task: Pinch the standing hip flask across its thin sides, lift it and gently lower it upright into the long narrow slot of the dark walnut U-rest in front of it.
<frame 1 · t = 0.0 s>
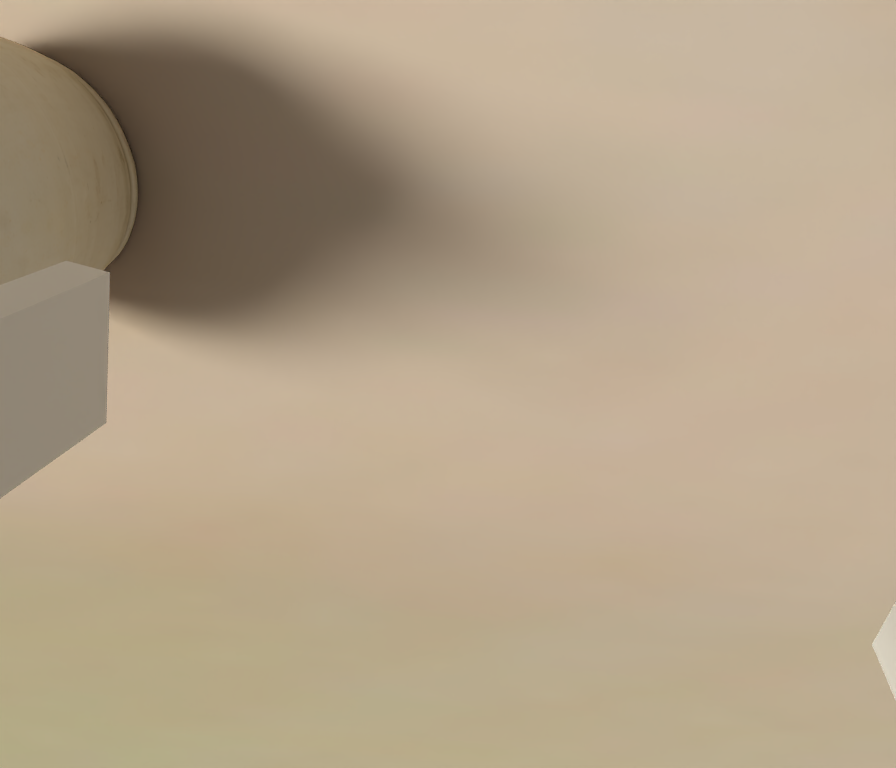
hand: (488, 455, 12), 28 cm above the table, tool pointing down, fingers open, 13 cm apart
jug: (40, 169, 43), on the table
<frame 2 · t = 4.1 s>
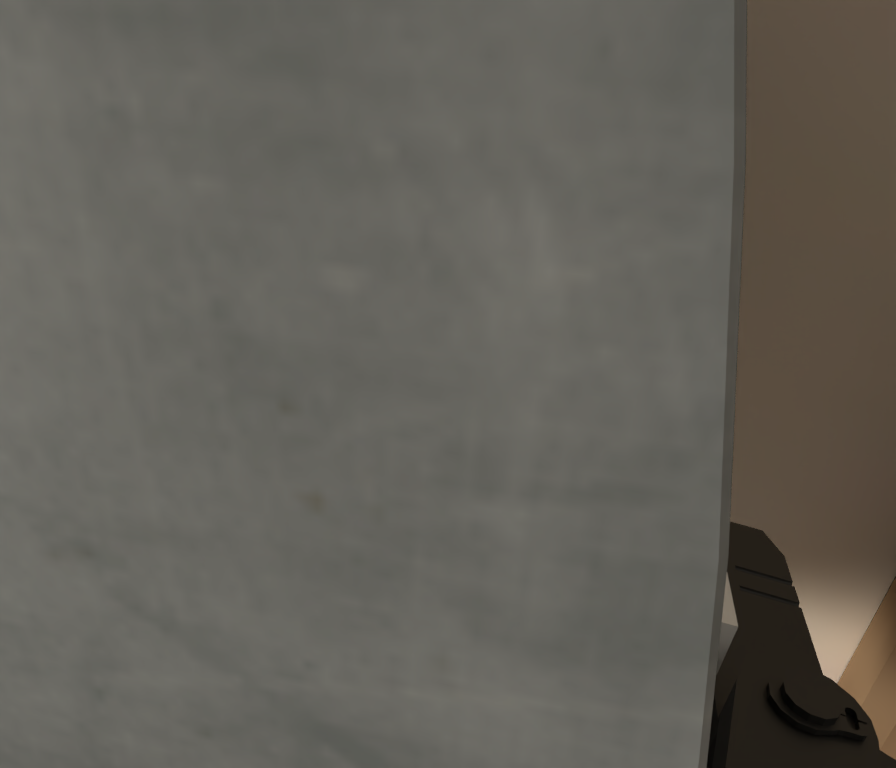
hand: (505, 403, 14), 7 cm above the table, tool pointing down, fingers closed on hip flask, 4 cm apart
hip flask: (545, 299, 20), on the table, touching gripper
when the fingers open (10 cm above the table, at t = 11.0 s): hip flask drops 1 cm, resting on u rest.
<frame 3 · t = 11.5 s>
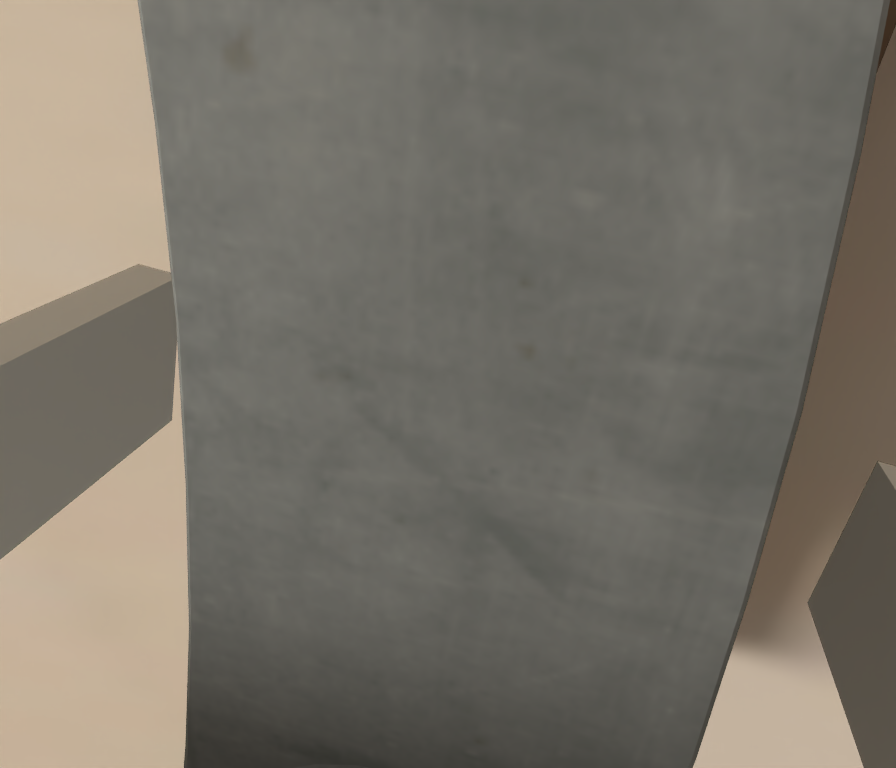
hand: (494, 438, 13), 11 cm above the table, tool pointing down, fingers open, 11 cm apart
u rest: (549, 270, 23), on the table
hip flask: (548, 278, 22), point 1 cm above the table, touching u rest
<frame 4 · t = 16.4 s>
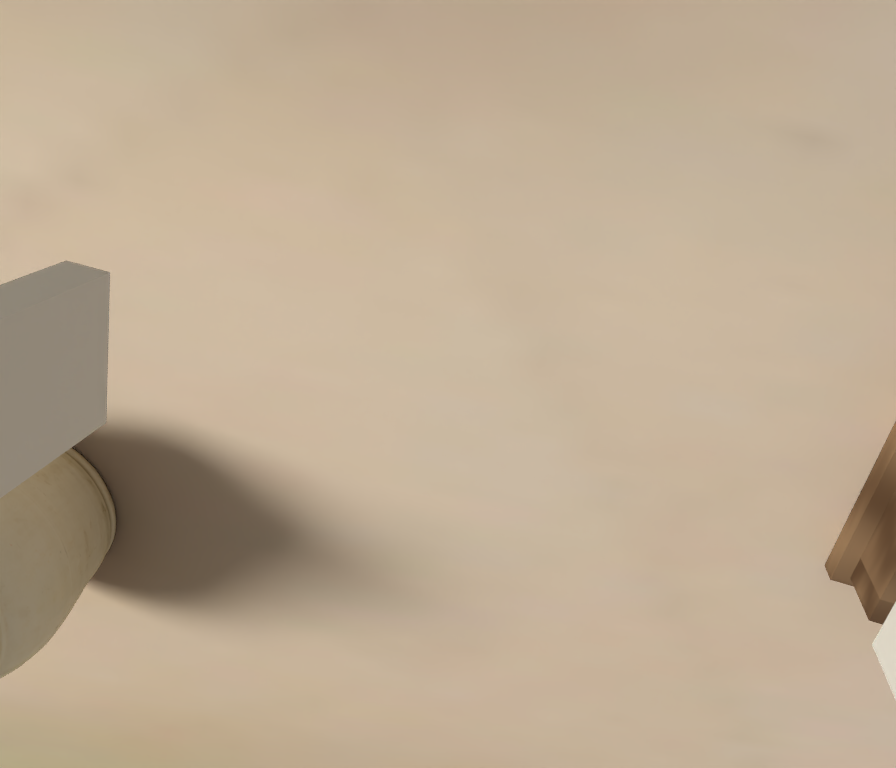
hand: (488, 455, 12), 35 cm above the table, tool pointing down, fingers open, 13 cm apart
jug: (47, 498, 61), on the table
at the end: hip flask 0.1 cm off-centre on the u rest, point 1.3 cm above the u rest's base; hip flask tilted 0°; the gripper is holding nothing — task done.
